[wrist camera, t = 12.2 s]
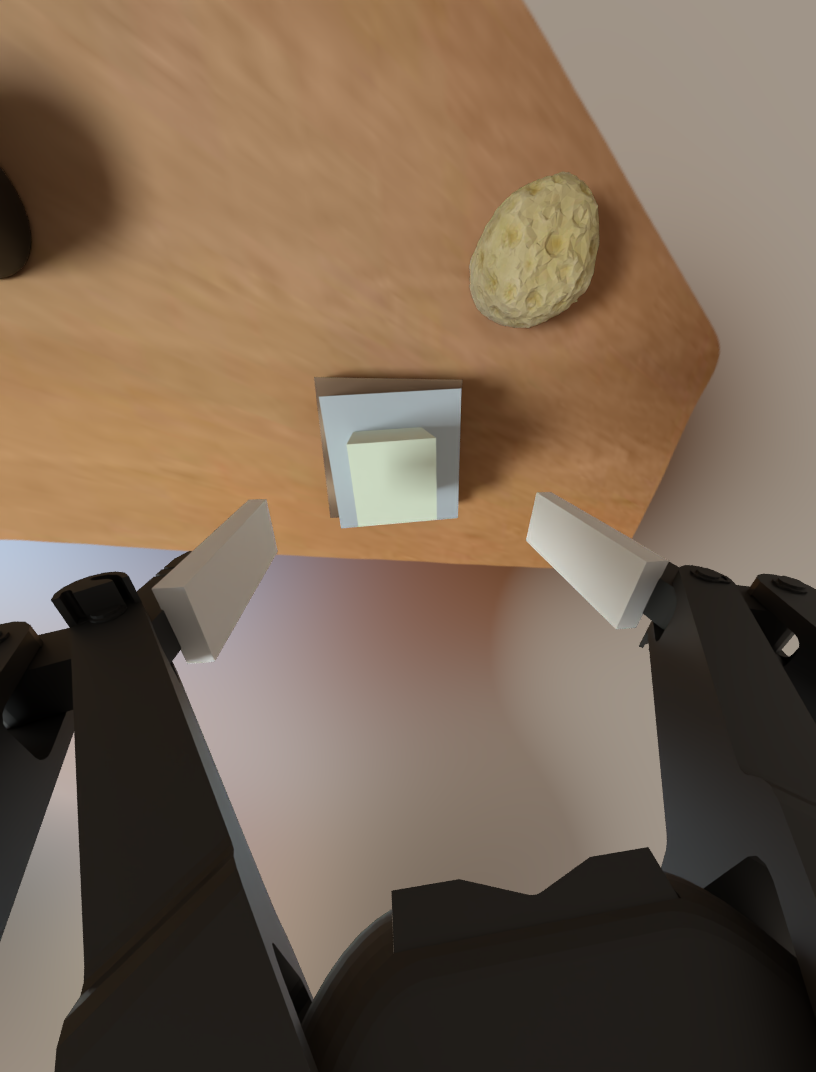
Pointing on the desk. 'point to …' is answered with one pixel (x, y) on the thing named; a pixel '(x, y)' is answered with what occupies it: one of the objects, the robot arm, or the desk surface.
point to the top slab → (394, 412)
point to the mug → (12, 229)
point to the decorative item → (536, 252)
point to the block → (393, 475)
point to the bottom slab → (366, 386)
